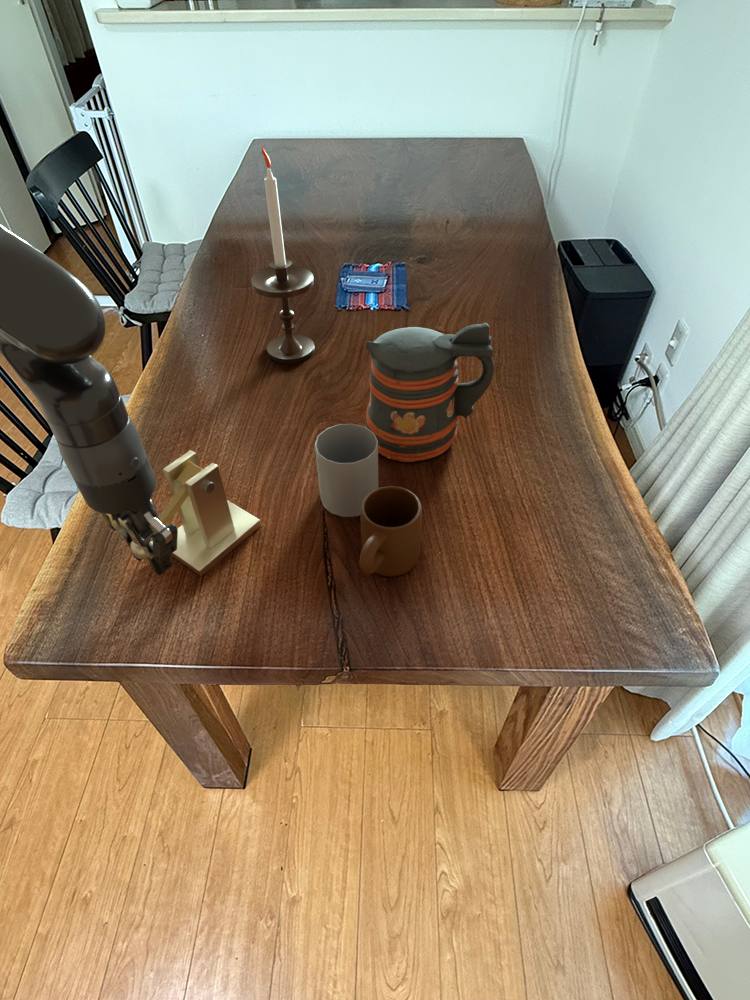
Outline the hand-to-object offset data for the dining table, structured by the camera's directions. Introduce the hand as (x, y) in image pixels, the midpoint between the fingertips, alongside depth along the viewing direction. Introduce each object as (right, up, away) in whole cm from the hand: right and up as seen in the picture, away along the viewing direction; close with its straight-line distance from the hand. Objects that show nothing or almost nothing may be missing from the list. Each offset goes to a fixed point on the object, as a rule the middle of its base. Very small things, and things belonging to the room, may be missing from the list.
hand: (153, 562), depth 74 cm
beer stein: (+35, +18, +23) cm, 46 cm away
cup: (+24, +8, +13) cm, 28 cm away
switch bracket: (+5, +3, +7) cm, 9 cm away
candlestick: (+11, +36, +41) cm, 56 cm away
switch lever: (+3, +6, 0) cm, 6 cm away
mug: (+29, -1, +3) cm, 29 cm away
